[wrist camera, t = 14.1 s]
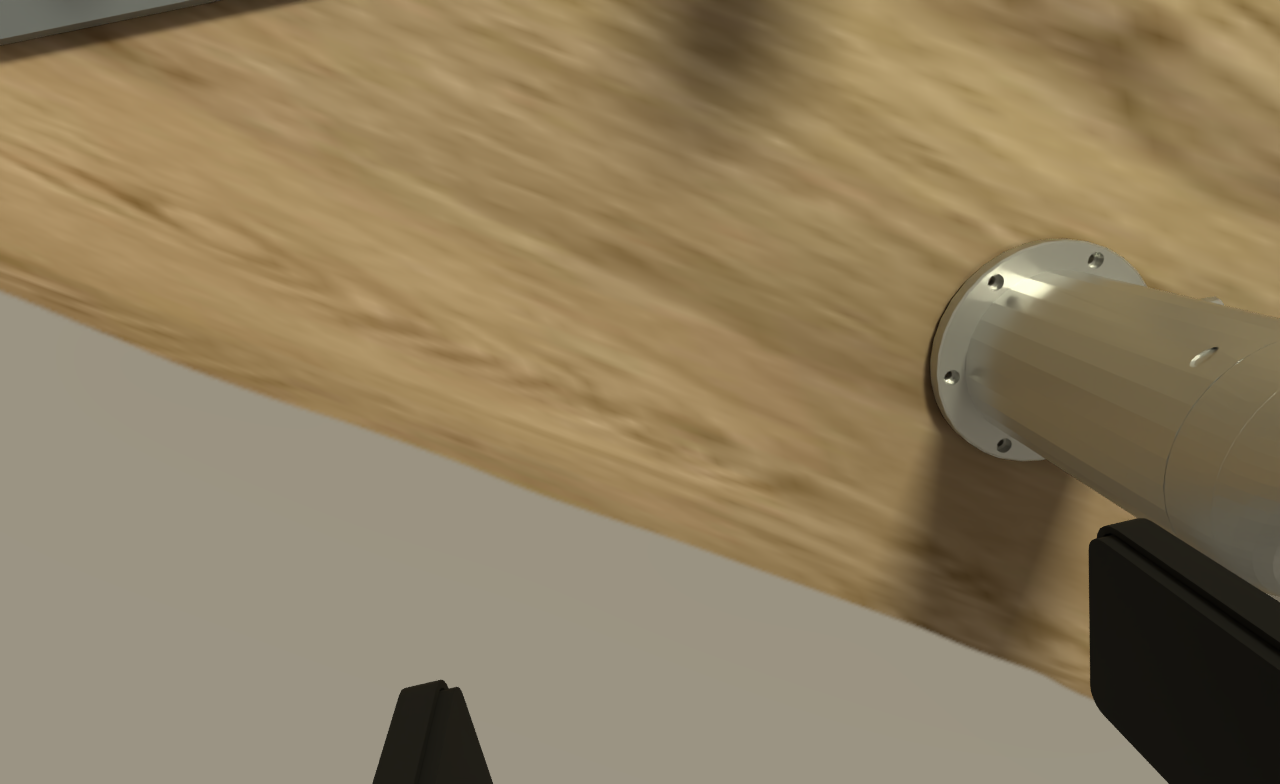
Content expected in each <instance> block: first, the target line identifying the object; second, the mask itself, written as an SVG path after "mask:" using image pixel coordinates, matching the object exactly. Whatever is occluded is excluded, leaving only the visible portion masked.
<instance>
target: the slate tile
mask: <svg viewBox="0 0 1280 784" xmlns="http://www.w3.org/2000/svg"><path fill="white" fill-rule="evenodd" d="M215 1H220V0H0V45H5V44H10V43H15V42H20V41H25V40H30V39H35V38H39V37H44V36H49V35H54V34H59V33H64V32H69V31H74V30H78V29H83V28H88V27H93V26H98V25H103V24H108V23H113V22H118V21H122V20H127V19H132V18H137V17H142V16H147V15H152V14H157V13H162V12H166V11H171V10H176V9H181V8H186V7H191V6H196V5H201V4H205V3H210V2H215Z"/></svg>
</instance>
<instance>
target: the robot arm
mask: <svg viewBox="0 0 1280 784" xmlns="http://www.w3.org/2000/svg"><path fill="white" fill-rule="evenodd" d="M990 278H991V281H990V282H989V283H988V281H989V279H990ZM930 368H931V384H932V388H933V392H934V396H935V400H936V402H937V405H938V407H939V409H940V411H941V413H942V415H943V417H944V418H945V420H946V421H947V422H948V423H949V425H950V426H951V427H952V428H953V430H954V431H955V432H956V433H958V434H959V435H960V436H961V437H962V438H964V439H965V440H966V441H967V442H969V443H970V444H972V445H973V446H975V447H976V448H978V449H980V450H981V451H983V452H985V453H987V454H990V455H992V456H995V457H997V458H1001V459H1007V460H1014V461H1040V460H1045V459H1046V460H1048V461H1049V462H1051V463H1053V464H1054V465H1056V466H1057V467H1059V468H1060V469H1062V470H1063V471H1065V472H1066V473H1068V474H1070V475H1071V476H1073V477H1074V478H1076V479H1077V480H1079V481H1080V482H1082V483H1084V484H1085V485H1087V486H1088V487H1090V488H1091V489H1093V490H1094V491H1096V492H1098V493H1099V494H1101V495H1102V496H1104V497H1105V498H1107V499H1108V500H1110V501H1111V502H1113V503H1115V504H1116V505H1118V506H1119V507H1121V508H1122V509H1124V510H1125V511H1127V512H1129V513H1130V514H1132V515H1133V516H1135V517H1136V518H1137V519H1133V520H1129V521H1124V522H1120V523H1116V524H1111V525H1107V526H1104V527H1102V528H1100V530H1099V532H1098V533H1097V539H1094V540H1092V541H1091V542H1090V544H1089V614H1090V687H1091V692H1092V696H1093V699H1094V701H1095V703H1096V705H1097V707H1098V708H1099V710H1100V711H1101V712H1102V714H1103V715H1104V716H1105V717H1106V718H1107V719H1108V720H1109V721H1110V722H1111V723H1112V724H1113V725H1114V726H1115V728H1117V730H1119V732H1120V733H1121V734H1122V735H1123V736H1124V737H1125V738H1126V739H1127V740H1128V741H1129V742H1130V743H1131V744H1132V745H1133V746H1134V747H1135V748H1136V750H1137V751H1138V752H1139V753H1140V754H1141V755H1142V756H1143V757H1144V758H1145V759H1146V760H1147V761H1148V762H1149V763H1150V764H1151V765H1152V766H1153V767H1154V768H1155V769H1156V770H1157V772H1158V773H1159V774H1160V775H1161V776H1162V777H1163V778H1164V779H1165V780H1166V781H1167V782H1168V783H1169V784H1280V602H1278V601H1277V600H1275V599H1274V598H1272V597H1271V596H1269V595H1267V594H1270V595H1274V596H1278V597H1280V318H1276V317H1271V316H1267V315H1263V314H1259V313H1255V312H1250V311H1246V310H1242V309H1238V308H1233V307H1229V306H1225V305H1224V304H1223V303H1222V301H1221V300H1220V299H1219V298H1217V297H1207V298H1203V299H1195V298H1191V297H1187V296H1183V295H1179V294H1174V293H1170V292H1166V291H1162V290H1157V289H1153V288H1149V287H1147V285H1146V284H1145V282H1144V281H1143V279H1142V277H1141V276H1140V274H1139V273H1138V271H1137V270H1136V269H1135V268H1134V267H1133V266H1132V265H1131V264H1130V263H1129V262H1128V261H1127V260H1126V259H1125V258H1124V257H1122V256H1120V255H1118V254H1117V253H1115V252H1113V251H1112V250H1110V249H1108V248H1107V247H1103V246H1100V245H1097V244H1094V243H1090V242H1087V241H1081V240H1074V239H1068V238H1061V239H1043V240H1038V241H1034V242H1029V243H1025V244H1022V245H1020V246H1017V247H1015V248H1013V249H1010V250H1008V251H1006V252H1003V253H1002V254H1000V255H999V256H997V257H996V258H994V259H992V260H991V261H989V262H988V263H986V264H985V265H983V266H982V267H981V268H980V269H979V270H978V271H977V272H976V273H975V274H973V275H972V276H971V277H970V278H969V279H968V280H967V281H966V282H965V283H964V285H963V286H962V287H961V288H960V290H959V291H958V292H957V293H956V295H955V296H954V297H953V298H952V300H951V302H950V304H949V305H948V307H947V309H946V311H945V313H944V314H943V316H942V318H941V320H940V323H939V326H938V329H937V332H936V335H935V337H934V341H933V347H932V353H931V360H930ZM947 372H948V374H947V376H945V375H946V373H947ZM1266 593H1267V594H1266ZM373 784H493V782H492V779H491V776H490V773H489V770H488V767H487V764H486V761H485V758H484V756H483V752H482V750H481V747H480V744H479V741H478V738H477V735H476V732H475V729H474V726H473V723H472V720H471V717H470V714H469V711H468V708H467V705H466V703H465V699H464V696H463V694H462V691H461V690H460V688H459V687H454V688H450V689H449V688H448V686H447V684H446V683H445V681H443V680H438V681H434V682H429V683H425V684H420V685H416V686H412V687H408V688H404V689H403V690H401V693H400V695H399V698H398V701H397V704H396V708H395V711H394V714H393V717H392V721H391V724H390V728H389V731H388V734H387V738H386V741H385V744H384V747H383V750H382V754H381V757H380V760H379V764H378V767H377V770H376V774H375V777H374V780H373Z"/></svg>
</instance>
